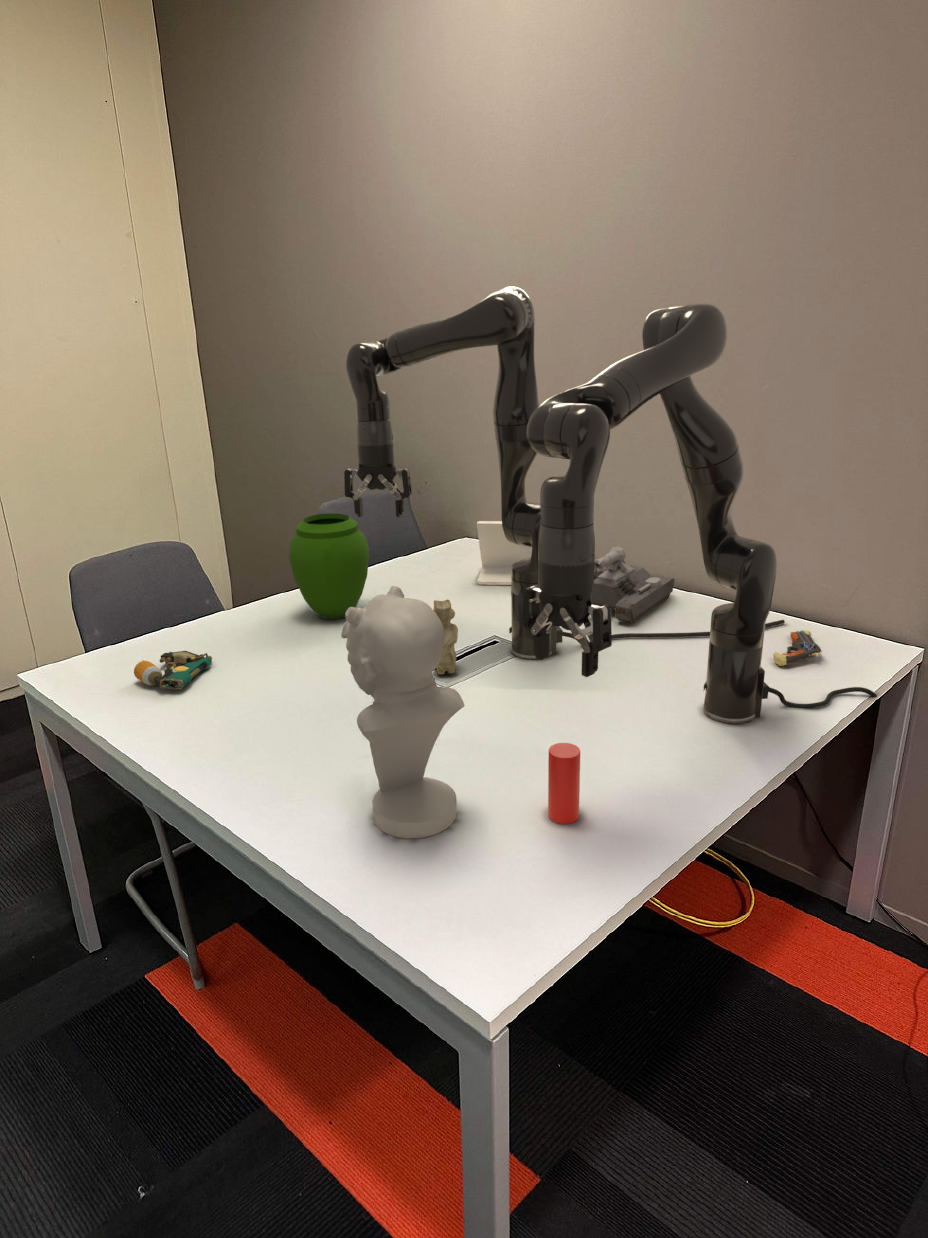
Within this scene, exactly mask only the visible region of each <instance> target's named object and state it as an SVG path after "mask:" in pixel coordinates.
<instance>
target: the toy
mask: <svg viewBox="0 0 928 1238" xmlns="http://www.w3.org/2000/svg"><path fill="white" fill-rule="evenodd" d="M626 557H627V556H626V551H625V549H624V548H622V547H621V546H614V547H612V548H611V549H610V550H609V552H608V553H607V554H605V555H604V556H601V557H599V558H598V559H597V557H595V561H594V587H593V590H592V592H591V601H592V603H593V605H597V606H604V605H609V606H610V607H611V609H613V610H614V618H615V619H617V620H618V621H621V622H626V623H631V624H634V623H635V622H637V621H638V620H640V619H641V618H642V617H644V616H645V615H647V614H648V613H650V612H651V611H652V610H654V609H655V608H657V607H659V606H660V605H661V604H663V603H664V602H666V601H667V600H669V598H670V596H671V594H672V593H673V591H674V585H675V580H676V579H675V578H673V577H668V576H663V575H656V576H655V577H654V576H651V574H650V573H649V572H648V571H647V570H646V568H644V567H641V566H635V565H629V564H628V563H627V562H626V561H625V559H626Z"/></svg>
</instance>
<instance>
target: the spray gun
mask: <svg viewBox="0 0 928 1238" xmlns="http://www.w3.org/2000/svg"><path fill="white" fill-rule="evenodd" d="M212 660H213V657H212V656H211V655H208V653H207V652H205V653H201V654H197V653H194V652H192V651H191V652H190V651H188V650H180V651H169V652H164V653H162V654H161V655H160V658H159V660H158V662H159V663H161V664H163V663H165V664H166V668H165V670H163V672H164V674H163V673H162V669H160V668H159V666H157V665H156V664H154V663H152V662H151V661H149V660H141V661H139V662H138V663H136V665H135V666H134V668H133V675H134V677H135V678H136V679H137V680H139V681H140V682H142V683H143V684H145V685H147V686H155V685H157V686H158V687H160V688H161V689H171V690H172V689H173V690H182V689H184V687H185V686H186V685H188V684H189V683H190V682H191V681H192V679H193V678H195V677H196V676H197V675H198V674H200V673H201V672H202V671H203V670H206V669H208V668H209V667H210V666H211V665H212V662H213V661H212ZM178 663H179V664H181V665H179V666H176V665H177V664H178Z"/></svg>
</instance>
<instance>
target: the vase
mask: <svg viewBox="0 0 928 1238" xmlns="http://www.w3.org/2000/svg"><path fill="white" fill-rule="evenodd" d="M358 524H359V523H358V521H356V520H355V519H353V518H352V517H350V516H349V515H347V514H344V513H335V512H334V513H333V512H331V513H320V514H313V515H310V516H307V517H305V518H303V519H302V520H301V521H300V522H299V523H298V524H297V525H296V526H295V532H296V533H295V534H294V536H293V537H292V538H291V540H290V542H289V551H288V559H289V564H290V566H291V567H290V568H291V570H292V575H293V578H294V581H295V584H296V586H297V587H298V589H299V591H300V593H301V596H302V597H303V600H304V601H305V603H306V604H307V605H308V607H309V608H310V609H311V611H312V612H314V613H315V614H316V615H317V616H318V617H320V618H324V619H326V620H327V619H329V620H336V619H341V618H346V616H345V613H346V611H347V609H348V608H349V607H355V608H357V605H358V604H359V601H360V599H361V597H362V595H363V592H364V588H365V586H366V581H367V578H368V570H369V561H370V560H369V559H370V548H369V545H368V541H367V537H366V535H365V534H364V533H363V532H362V531H361V530H360V529H359V527H358Z"/></svg>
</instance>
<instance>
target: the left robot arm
mask: <svg viewBox="0 0 928 1238" xmlns="http://www.w3.org/2000/svg"><path fill="white" fill-rule="evenodd" d="M494 346H495V347H496V348H497V357H498V374H497V379H496V380H497V381H496V386H495V392H494V399H493V405H492V419H493V426H494V427H493V428H494V435H495V436H494V437H495V443H496V449H497V456H498V457H497V458H498V467H499V477H500V508H501V511H500V512H501V513H500V514H501V521H502V528H503V533H504V536H505V538H506V539H507V541H509V542H510V543H512V544H516V545H522V546H528V547H532V553H531V558H526V559H522V560H519V561H516V562H515V563H513V565H512V567H511V585H510V588H511V589H510V597H511V599H510V603H511V604H510V606H511V607H510V609H511V610H510V615H511V617H510V618H511V621H510V622H511V626H510V627H509V628H508V630H509V631H508V633H509V634H511V643H510V644H511V647H510V651H511V653H512V655H513V656H515V657H518V658H521V659H525V660H526V659H527V660H537V659H536V658H535V654H534V635H533V634H532V632H531V630H530V629H529V628H528V627H527V628H524V627H523V626H522V605H523V590H524V589H526V588H528V587H531V586H534V585H538V538H539V531H540V502H532V501H528V500H527V497H526V478H527V475H528V472H529V470H530V468H531V467H532V464H533V462H534V461H535V459H536V457H537V455H538V453H537V452H535V451H534V450H533V449H532V447H531V446H530V444H529V442H528V439H527V424H528V421H529V419H530V416H531V415H532V413H533V411H534V410H535V409H536V408H537V407H538V406H539V405H540V404H539V392H538V391H539V390H538V383H537V382H538V381H537V374H536V364H535V308H534V305H533V302H532V300H531V298H530V297H529V295H528V294H527V293H526V291H525V290H524V289H522V288H520V287H518V286H513V285H511V286H506V287H503V288H499V289H498V290H496V291H494V292H491V293H490V294H488V295H486V296H485V297H484V298H483V299H482V300H481V301H479V302H477V303H476V304H474V305H472V306H471V307H469V308H467V309H465V310H464V311H462V312H460V313H457V314H454V315H453V316H450V317H447V318H444V319H439V320H434V321H428V322H423V323H420V324H417V325H413V326H409V327H406V328H404V329H401V330H398V331H396V332H393V333H391V335H389V336H388V337H386V338H383V339H378V340H373V341H365V342H357V343H354V344H352V345H351V346H350V347H349V348H348V350H347V352H346V355H345V371H346V374H347V378H348V382H349V385H350V388H351V391H352V395H353V397H354V401H355V417H356V430H355V431H356V432H355V433H356V445H357V448H356V449H357V461H358V462H357V463H358V468H357V469H355V468H354V469H353V468H352V467H348V468H346V469H345V470H344V472H343V473H344V476H343V477H344V479H343V480H344V496H345V498H350V499H352V500H353V508H354V509H353V510H354V513H355V515H357V517H358V518H363V516H364V505H363V498H362V496H363V494H364V493H365V491H367V489H369V490H370V491H371V490H372V491H374V490H381V491H383V490H386V489H387V490H388V492H389V493H390V494H392V496H393V497H394V498H395V499H396V500H395V502H394V503H395V504H394V505H395V518H401V517H402V515H403V514H404V512H405V507H404V505H405V503H404V499H406V498H409V497H410V496H411V495H412V494H413V491H412V490H413V489H412V483H411V482H412V481H411V473H410V468H409V467H404V468H399V469H397V468H396V466H395V456H394V454H395V453H394V435H393V428H392V421H391V409H390V407H391V406H390V397H389V394H388V392H387V391H385V390H383V389H380V387H379V382H378V380H377V378H379V377H384V376H387V375H389V374H392V373H394V372H397V371H399V370H402V369H404V368H409V367H412V366H416V365H419V364H422V363H425V362H428V361H432V360H435V359H437V358H440V357H443V356H445V355H448V354H452V353H455V352H459V351H463V350H469V349H475V348H484V347H485V348H486V347H494ZM356 476H357V477H358V478H359V479H360V481H361V484H360V485H359V486H358V488H357V490H356V491H354V479H355V478H356ZM396 476H398V478H399V479H400V480H402V489H403V491H402V490H401V489H400V488H399V485H398V484H397V483H396V482H395V480H394V479H395V478H396ZM543 610H544V608H543V606H542V604H541V602H540V614H541V612H542V611H543ZM530 617H531V615H530ZM785 623H786V621H785V619H780V620H775V621H771V622H766V623H765V629H766V628H771V627H775V626H779V625H784V624H785ZM563 630H564V629H563V628H562V627H561V626H554V625H551V626H550V628H549V629H548V630H547V631H546V632H548V633H549V656H548V657H550V656H552V655H557V654H558V653H557V650H558V649H557V648H558V647H557V645H558V644H562V643H563V637H566V638H569V639H573V640H575V641H576V642H578V643H579V641H578V639H575V638H574V637H573V635H572V633H571V632H567V631H563ZM693 637H695V638H696V637H710V631H699V632H698V631H696V632H651V633H650V632H646V633H645V632H641V633H639V632H637V633H636V632H632V633H630V632H628V633H615V634H612V640H614V639H625V638H629V639H630V638H693ZM588 641H589V642H590V640H588Z"/></svg>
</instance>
